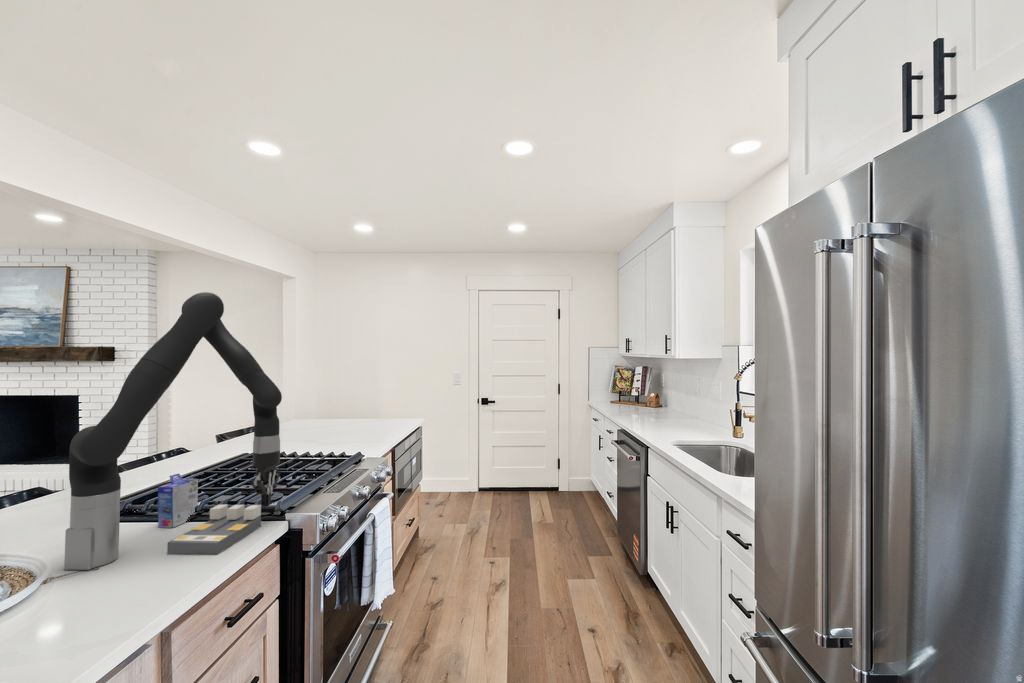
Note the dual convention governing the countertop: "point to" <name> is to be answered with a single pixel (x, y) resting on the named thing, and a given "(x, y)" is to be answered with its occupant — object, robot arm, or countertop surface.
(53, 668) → the countertop surface
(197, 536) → the switch board
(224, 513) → the tab
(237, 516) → the middle tab
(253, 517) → the tab
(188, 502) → the ink cartridge box
